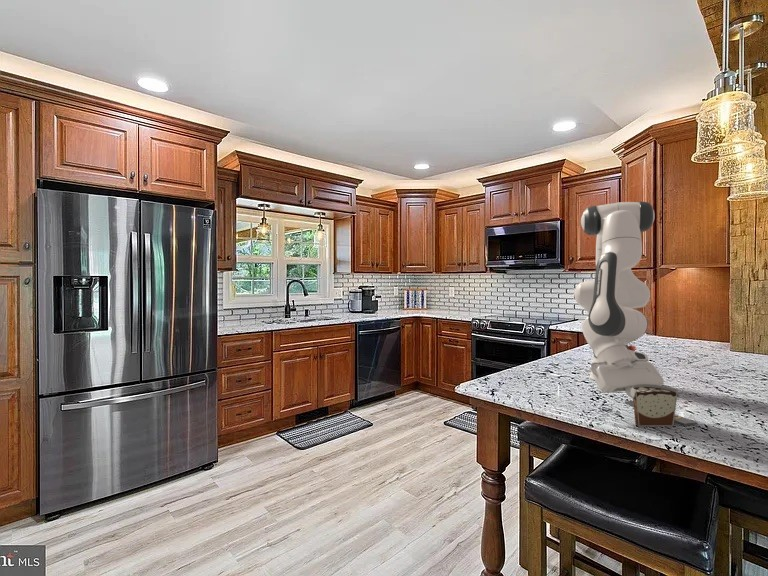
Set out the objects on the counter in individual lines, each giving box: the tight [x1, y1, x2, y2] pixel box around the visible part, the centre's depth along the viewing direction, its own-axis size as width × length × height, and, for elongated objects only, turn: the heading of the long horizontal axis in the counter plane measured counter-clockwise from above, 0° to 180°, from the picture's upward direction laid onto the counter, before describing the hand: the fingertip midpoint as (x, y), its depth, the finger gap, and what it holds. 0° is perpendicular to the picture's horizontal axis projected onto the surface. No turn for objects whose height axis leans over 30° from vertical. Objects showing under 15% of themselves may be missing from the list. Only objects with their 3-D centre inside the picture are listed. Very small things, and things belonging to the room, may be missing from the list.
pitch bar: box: [624, 400, 698, 427], centre depth 119 cm, size 4×20×4 cm, turn 13°
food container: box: [630, 384, 680, 427], centre depth 112 cm, size 12×6×10 cm, turn 90°
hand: (643, 403), depth 113 cm, fingers closed, pressing on food container
